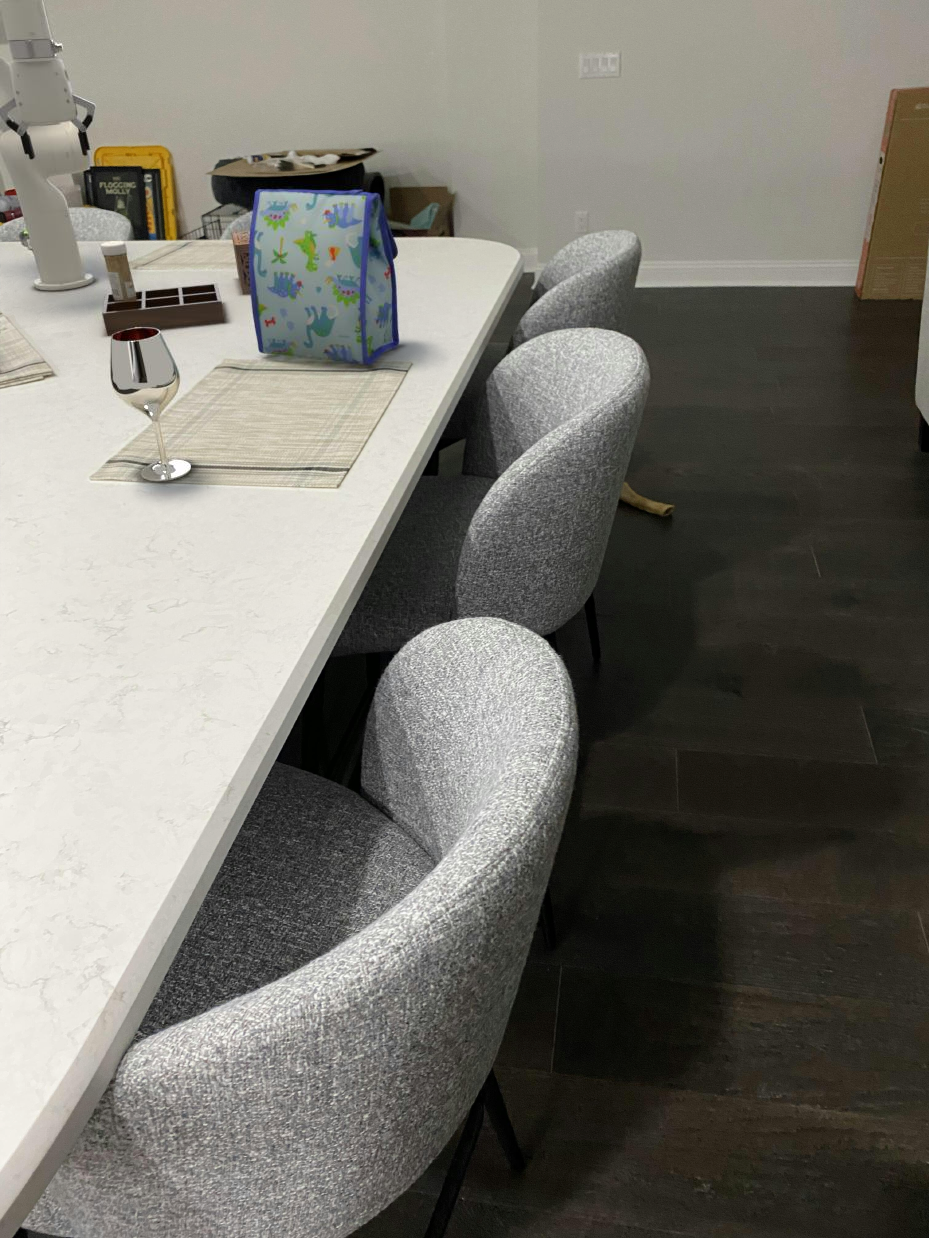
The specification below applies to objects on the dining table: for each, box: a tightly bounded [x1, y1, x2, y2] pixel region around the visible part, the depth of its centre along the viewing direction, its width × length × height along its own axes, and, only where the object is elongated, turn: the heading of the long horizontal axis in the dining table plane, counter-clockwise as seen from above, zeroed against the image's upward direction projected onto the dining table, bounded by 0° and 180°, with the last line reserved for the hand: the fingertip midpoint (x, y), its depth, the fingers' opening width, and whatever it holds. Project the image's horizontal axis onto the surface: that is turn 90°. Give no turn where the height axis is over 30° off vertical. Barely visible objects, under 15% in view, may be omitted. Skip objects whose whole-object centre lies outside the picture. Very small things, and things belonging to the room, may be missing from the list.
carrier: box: [101, 282, 226, 336], centre depth 182 cm, size 15×22×4 cm
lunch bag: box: [249, 188, 400, 366], centre depth 155 cm, size 22×17×26 cm
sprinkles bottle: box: [100, 240, 137, 302], centre depth 180 cm, size 5×5×13 cm
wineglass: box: [109, 328, 192, 482], centre depth 117 cm, size 8×8×18 cm
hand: (59, 156), depth 177 cm, fingers open, 9 cm apart
